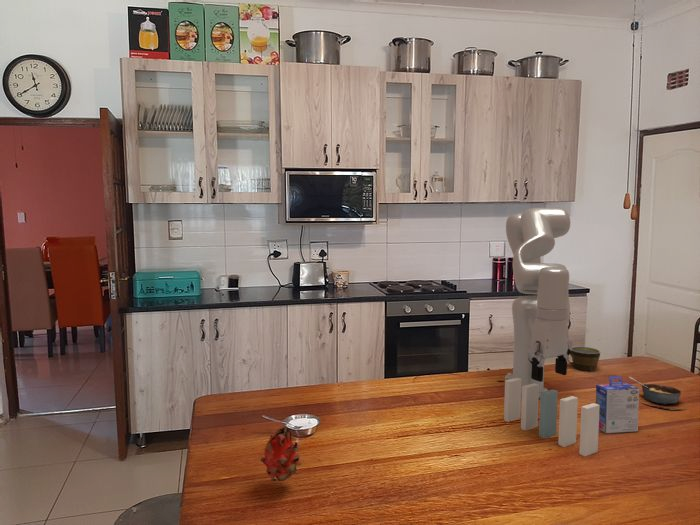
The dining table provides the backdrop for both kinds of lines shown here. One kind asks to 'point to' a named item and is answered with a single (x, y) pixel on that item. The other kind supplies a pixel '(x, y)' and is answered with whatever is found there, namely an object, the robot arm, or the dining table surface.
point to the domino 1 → (512, 399)
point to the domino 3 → (548, 413)
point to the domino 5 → (589, 429)
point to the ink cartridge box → (617, 406)
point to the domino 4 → (568, 421)
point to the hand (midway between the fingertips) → (549, 377)
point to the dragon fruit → (281, 456)
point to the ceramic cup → (584, 358)
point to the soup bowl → (660, 394)
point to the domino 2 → (529, 406)
